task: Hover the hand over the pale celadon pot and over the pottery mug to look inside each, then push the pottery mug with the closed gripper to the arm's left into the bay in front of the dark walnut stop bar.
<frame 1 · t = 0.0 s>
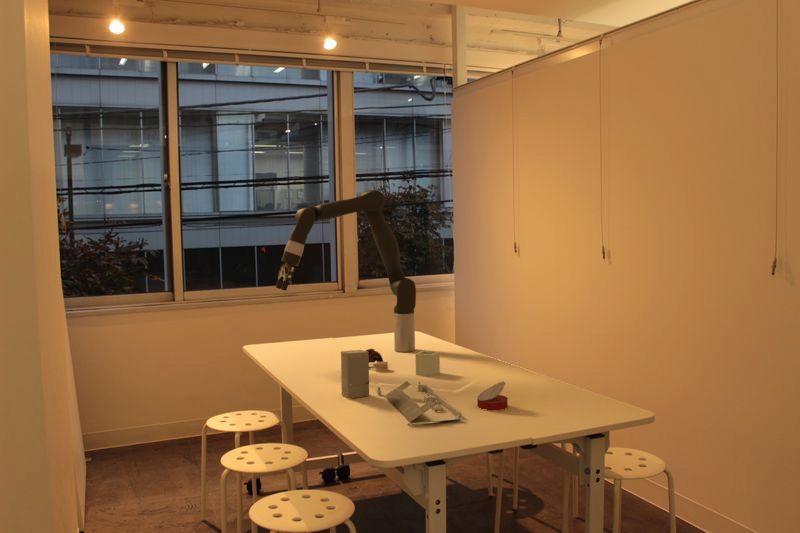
hand: (280, 289, 331), 31 cm above the table, tool tilted 20°, fingers open, 8 cm apart
pottery mug: (372, 366, 324), on the table
canned food: (492, 407, 255), on the table
skincare box: (355, 396, 274), on the table
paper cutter: (418, 409, 256), on the table
celadon pot: (427, 375, 303), on the table
walnut stop bar: (425, 370, 313), on the table
oak block: (382, 372, 311), on the table
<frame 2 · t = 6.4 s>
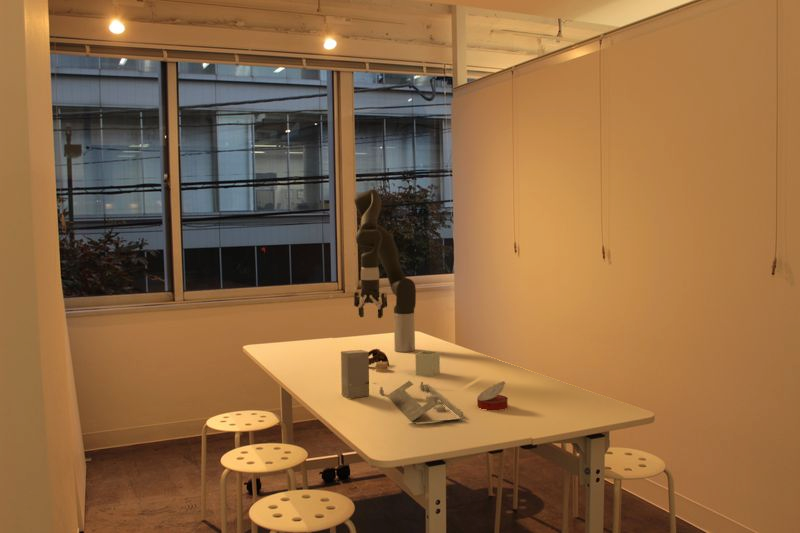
hand: (370, 317, 322), 20 cm above the table, tool pointing down, fingers open, 8 cm apart
pottery mug: (377, 366, 323), on the table
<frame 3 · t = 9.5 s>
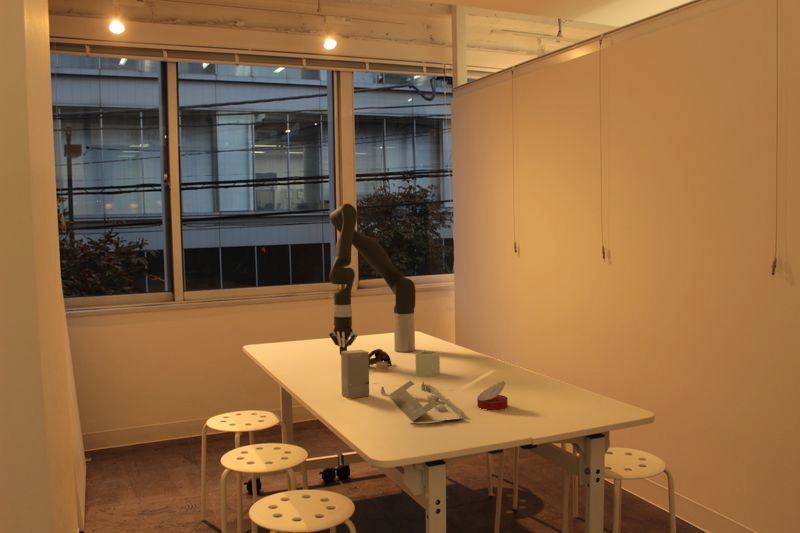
hand: (343, 355, 330), 3 cm above the table, tool pointing down, fingers closed
pottery mug: (379, 366, 323), on the table
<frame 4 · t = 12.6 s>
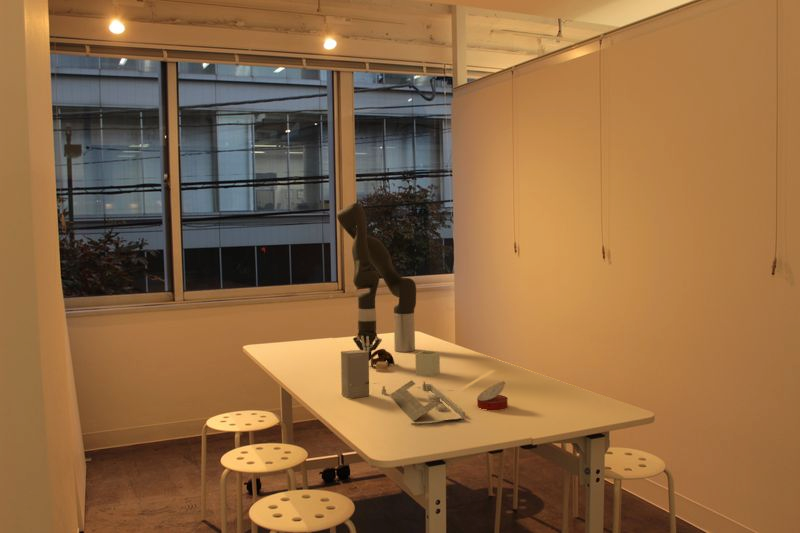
hand: (367, 360, 325), 2 cm above the table, tool pointing down, fingers closed
pottery mug: (382, 366, 323), on the table, touching gripper
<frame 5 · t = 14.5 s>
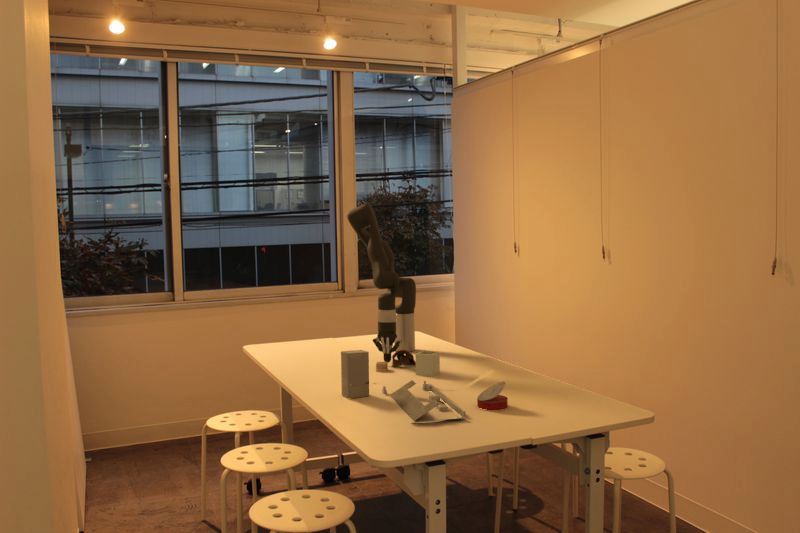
hand: (387, 362, 320), 2 cm above the table, tool pointing down, fingers closed
pottery mug: (403, 367, 320), on the table, touching gripper
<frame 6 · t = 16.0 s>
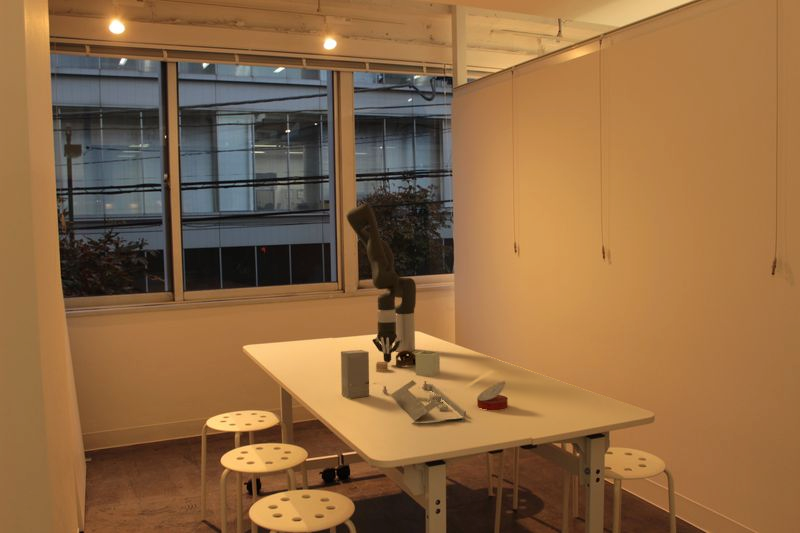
hand: (387, 362, 321), 2 cm above the table, tool pointing down, fingers closed
pottery mug: (406, 368, 320), on the table
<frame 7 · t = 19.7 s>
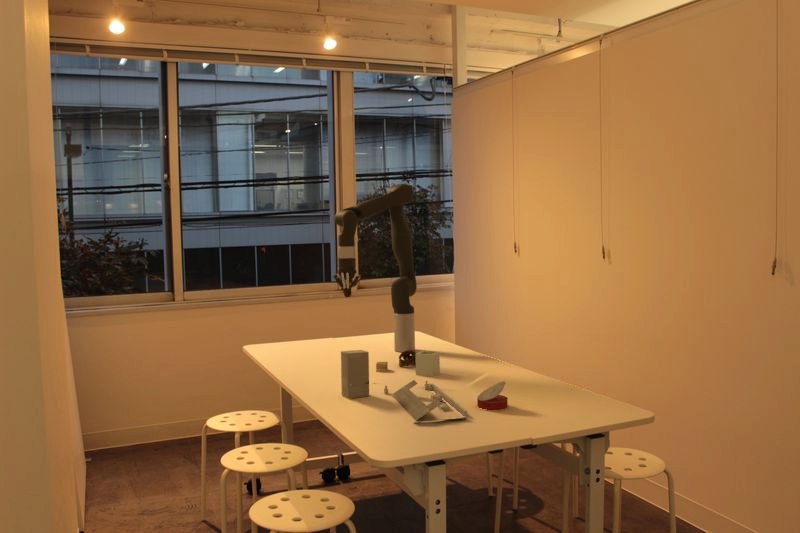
hand: (347, 296, 337), 27 cm above the table, tool pointing down, fingers closed
pottery mug: (409, 367, 320), on the table
at the end: pottery mug inside the target area (4.0 cm from its centre), on the table; pottery mug moved 16.3 cm from its start; pottery mug tilted 0° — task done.
